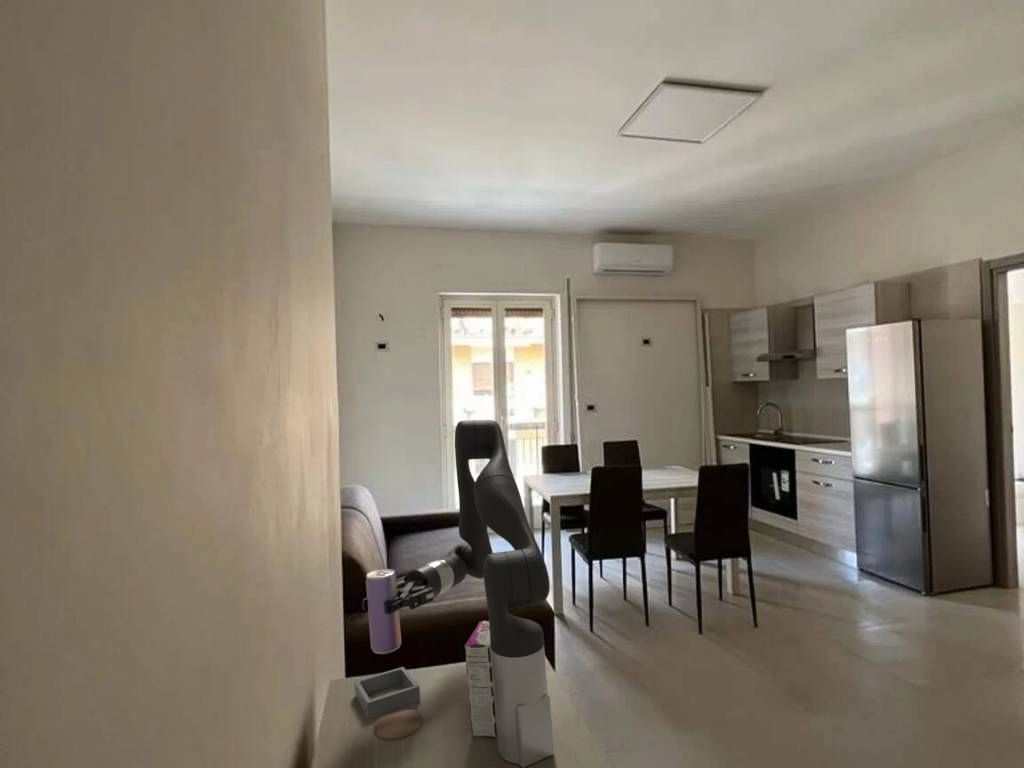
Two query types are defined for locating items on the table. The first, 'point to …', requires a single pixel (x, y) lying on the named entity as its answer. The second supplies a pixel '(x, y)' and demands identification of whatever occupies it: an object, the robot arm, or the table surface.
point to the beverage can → (382, 611)
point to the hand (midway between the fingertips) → (374, 607)
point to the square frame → (390, 700)
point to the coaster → (398, 724)
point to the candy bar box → (481, 682)
